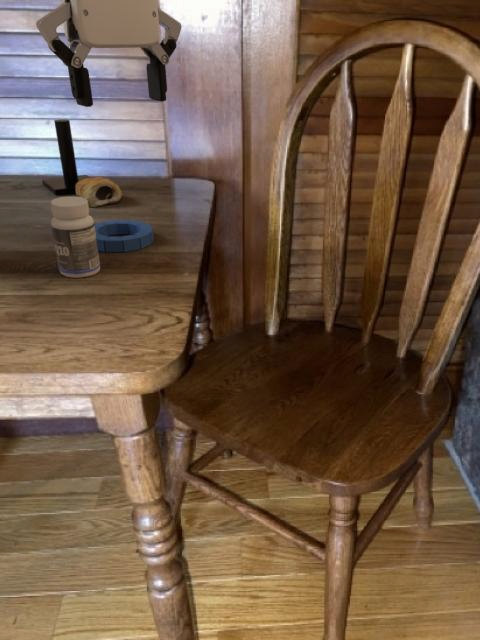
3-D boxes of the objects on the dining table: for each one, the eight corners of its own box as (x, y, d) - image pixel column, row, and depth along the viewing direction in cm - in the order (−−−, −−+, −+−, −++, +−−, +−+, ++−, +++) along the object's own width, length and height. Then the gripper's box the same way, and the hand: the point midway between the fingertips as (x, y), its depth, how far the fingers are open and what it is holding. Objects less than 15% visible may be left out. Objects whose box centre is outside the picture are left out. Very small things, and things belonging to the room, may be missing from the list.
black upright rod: (55, 195, 96) (43, 125, 90) (42, 185, 101) (30, 118, 96) (102, 190, 100) (93, 122, 94) (87, 180, 105) (78, 115, 100)
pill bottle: (53, 269, 68) (39, 198, 64) (90, 261, 71) (80, 192, 67) (69, 282, 65) (56, 208, 61) (107, 272, 68) (98, 202, 64)
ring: (99, 256, 72) (97, 244, 72) (77, 237, 79) (76, 225, 78) (163, 245, 77) (162, 233, 76) (138, 227, 83) (137, 216, 82)
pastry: (67, 195, 96) (63, 171, 94) (105, 190, 100) (103, 168, 98) (87, 208, 90) (84, 184, 88) (127, 203, 93) (125, 179, 91)
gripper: (156, -65, 67) (168, 95, 77) (6, -81, 58) (40, 104, 67) (190, -70, 63) (199, 101, 72) (32, -88, 53) (66, 111, 62)
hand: (122, 102), depth 69 cm, fingers open, 9 cm apart
